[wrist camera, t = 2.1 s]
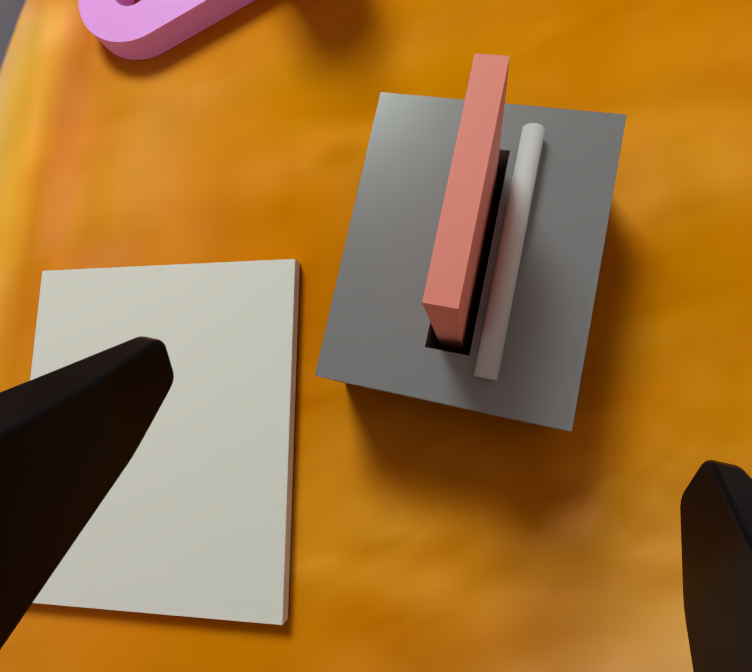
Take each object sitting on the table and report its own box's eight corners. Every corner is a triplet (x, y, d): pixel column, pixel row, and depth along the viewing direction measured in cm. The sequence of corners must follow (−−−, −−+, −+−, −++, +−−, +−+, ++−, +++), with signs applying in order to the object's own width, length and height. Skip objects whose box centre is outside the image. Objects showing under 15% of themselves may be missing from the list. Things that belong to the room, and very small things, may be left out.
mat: (287, 619, 19) (282, 625, 19) (17, 595, 22) (5, 600, 21) (299, 263, 22) (294, 258, 21) (53, 274, 24) (42, 270, 23)
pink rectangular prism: (463, 356, 20) (458, 309, 11) (443, 352, 20) (422, 302, 11) (493, 209, 20) (509, 55, 12) (473, 207, 21) (474, 53, 12)
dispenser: (551, 428, 19) (576, 432, 14) (344, 383, 20) (308, 373, 16) (596, 173, 20) (633, 101, 15) (397, 150, 22) (376, 79, 17)
